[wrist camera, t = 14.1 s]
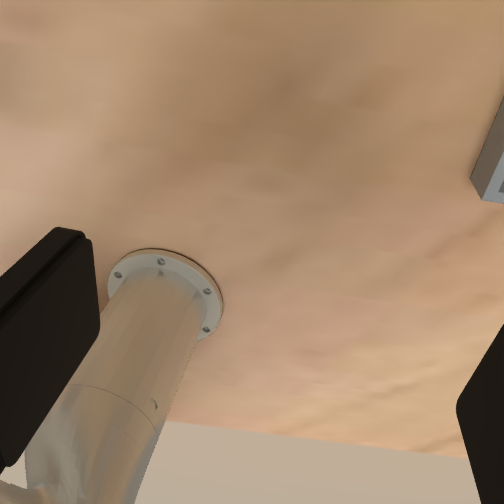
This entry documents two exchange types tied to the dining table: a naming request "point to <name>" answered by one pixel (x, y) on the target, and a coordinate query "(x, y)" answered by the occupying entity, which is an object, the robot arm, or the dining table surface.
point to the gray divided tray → (491, 163)
